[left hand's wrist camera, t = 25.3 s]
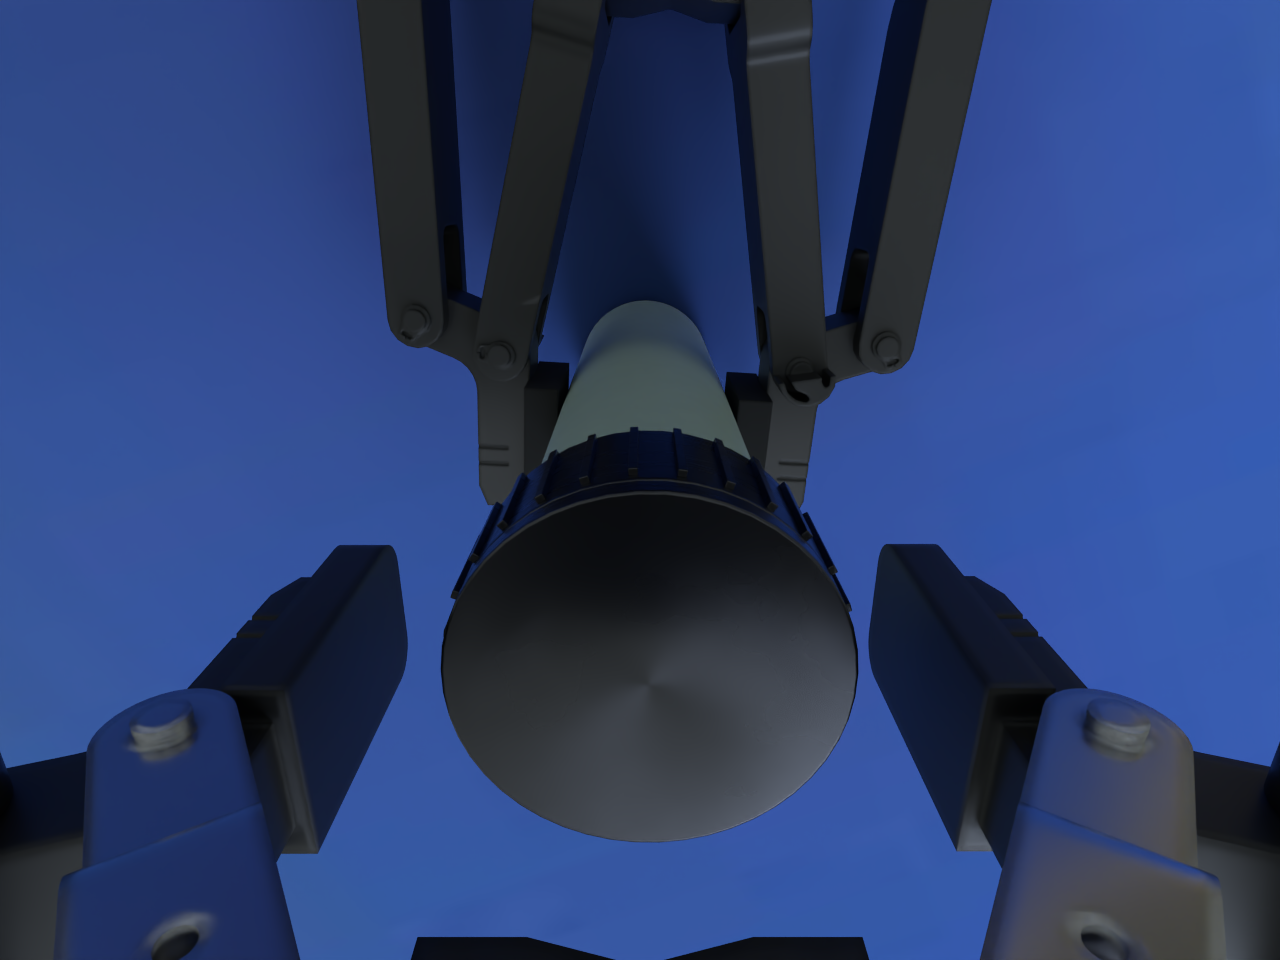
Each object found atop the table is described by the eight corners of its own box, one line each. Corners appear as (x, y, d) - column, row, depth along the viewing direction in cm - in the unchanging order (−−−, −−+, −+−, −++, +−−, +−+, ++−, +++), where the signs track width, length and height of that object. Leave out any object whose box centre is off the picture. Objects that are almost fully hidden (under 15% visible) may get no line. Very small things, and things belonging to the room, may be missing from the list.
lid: (521, 755, 12) (496, 872, 10) (430, 460, 10) (377, 529, 8) (839, 706, 11) (881, 817, 9) (802, 392, 10) (844, 446, 8)
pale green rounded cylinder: (731, 376, 25) (871, 674, 10) (632, 446, 26) (617, 820, 10) (658, 273, 24) (687, 428, 8) (557, 350, 24) (418, 615, 9)
